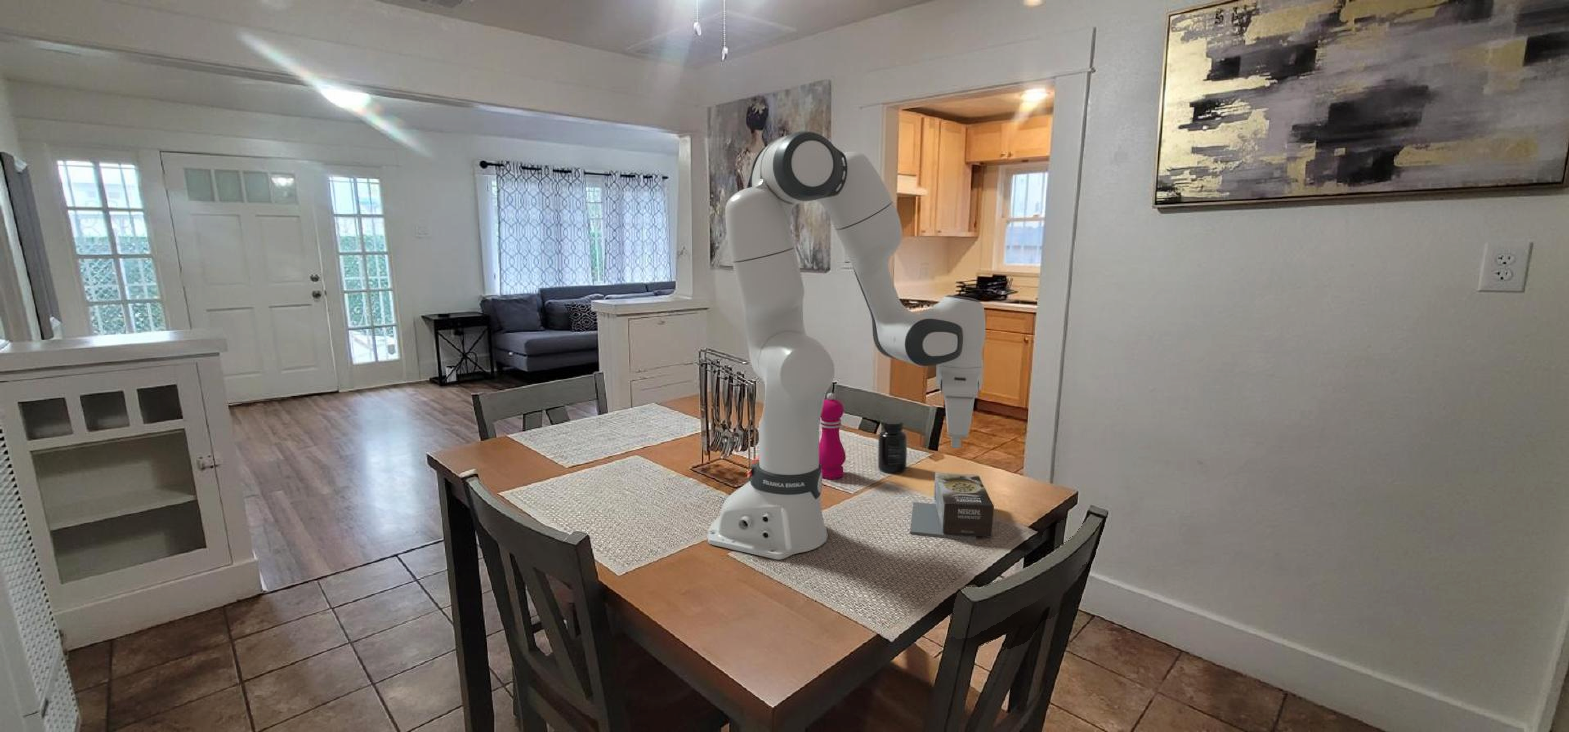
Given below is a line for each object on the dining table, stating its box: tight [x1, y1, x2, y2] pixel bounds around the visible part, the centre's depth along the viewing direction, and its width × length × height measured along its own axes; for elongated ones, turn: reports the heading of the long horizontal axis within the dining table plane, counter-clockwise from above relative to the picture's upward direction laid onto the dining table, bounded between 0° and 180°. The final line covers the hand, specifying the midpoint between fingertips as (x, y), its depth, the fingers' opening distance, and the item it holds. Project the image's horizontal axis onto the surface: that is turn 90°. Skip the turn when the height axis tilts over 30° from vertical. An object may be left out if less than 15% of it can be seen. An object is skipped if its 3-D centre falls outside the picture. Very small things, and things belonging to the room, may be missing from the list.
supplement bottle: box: [877, 418, 908, 474], centre depth 151 cm, size 7×7×12 cm
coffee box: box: [933, 472, 995, 537], centre depth 123 cm, size 9×6×16 cm
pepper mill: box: [819, 392, 847, 480], centre depth 147 cm, size 7×7×20 cm
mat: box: [909, 501, 977, 541], centre depth 123 cm, size 12×14×1 cm
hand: (955, 445), depth 125 cm, fingers closed
